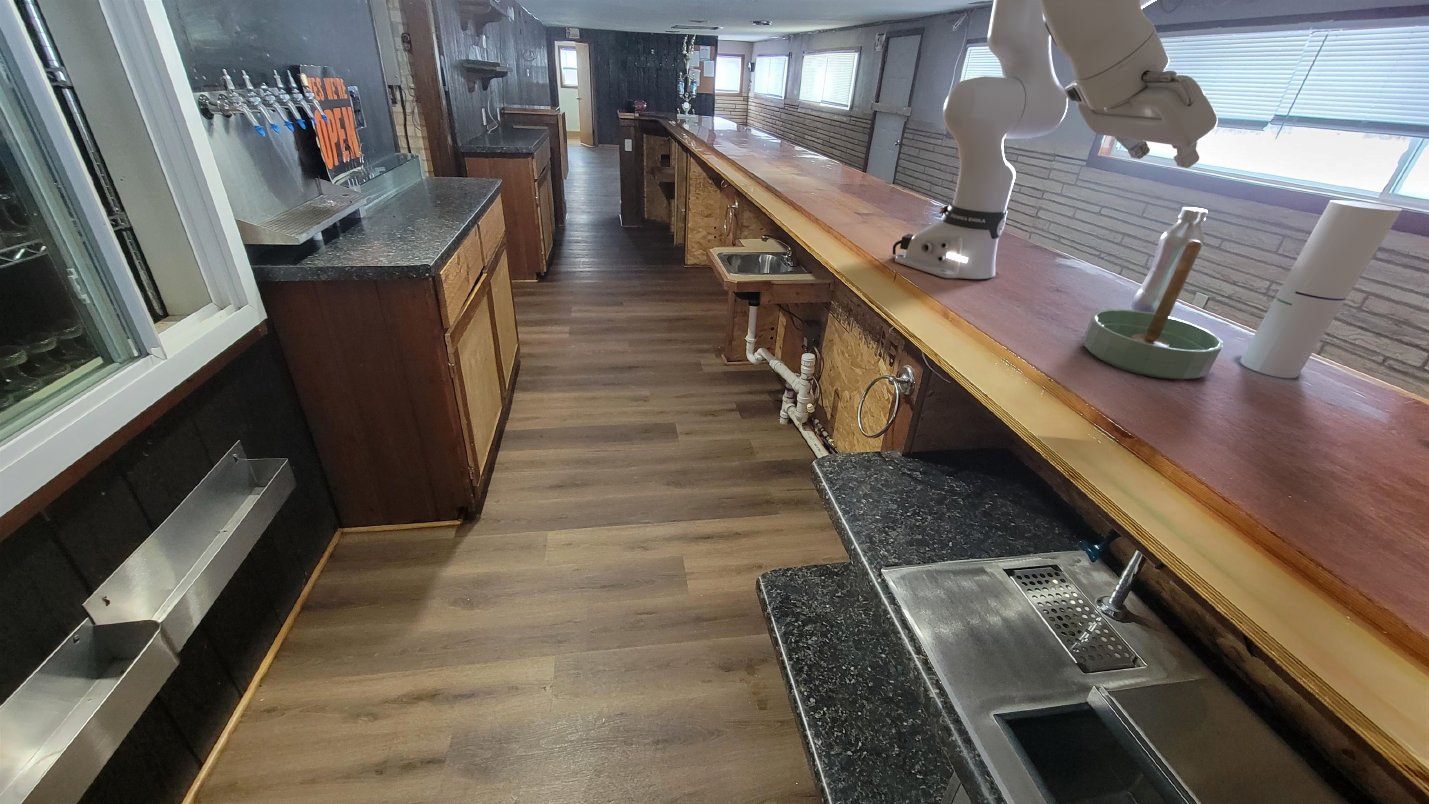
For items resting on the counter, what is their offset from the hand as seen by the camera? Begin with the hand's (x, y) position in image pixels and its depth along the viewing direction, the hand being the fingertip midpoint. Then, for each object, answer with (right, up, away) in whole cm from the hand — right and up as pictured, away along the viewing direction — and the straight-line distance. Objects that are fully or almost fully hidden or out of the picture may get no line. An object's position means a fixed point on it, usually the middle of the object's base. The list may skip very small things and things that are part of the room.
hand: (1164, 159), depth 77 cm
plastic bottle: (+22, -17, +32) cm, 43 cm away
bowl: (+8, -26, +15) cm, 31 cm away
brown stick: (+8, -25, +14) cm, 30 cm away
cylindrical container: (+27, -28, +13) cm, 41 cm away
